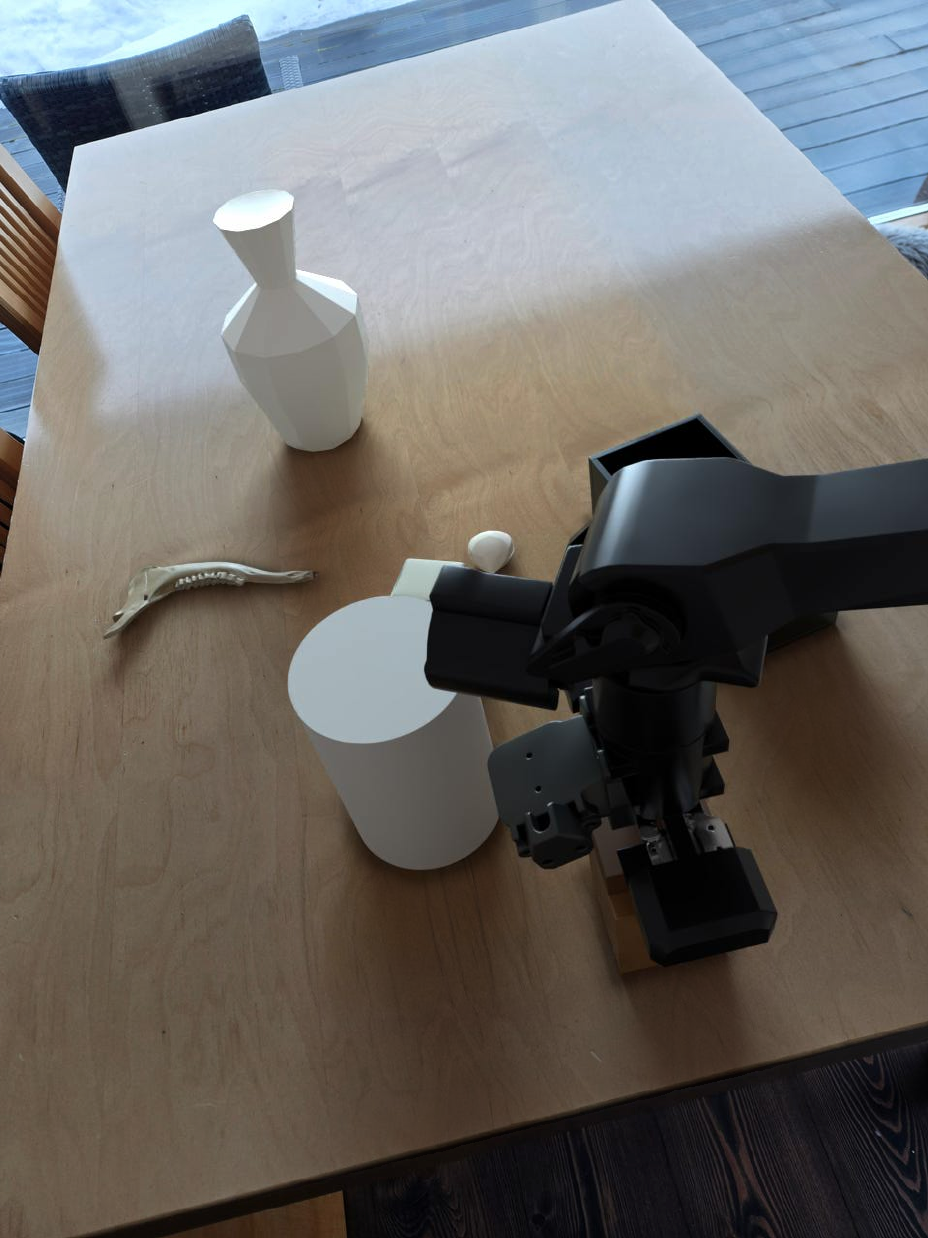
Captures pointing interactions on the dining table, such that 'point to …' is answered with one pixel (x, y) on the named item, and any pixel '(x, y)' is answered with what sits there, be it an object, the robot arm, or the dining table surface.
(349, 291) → the vase
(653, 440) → the trash bin
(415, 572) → the box
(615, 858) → the brown block
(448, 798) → the white solid cylinder
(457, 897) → the dining table surface
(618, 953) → the stand
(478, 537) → the white seashell
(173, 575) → the jawbone
